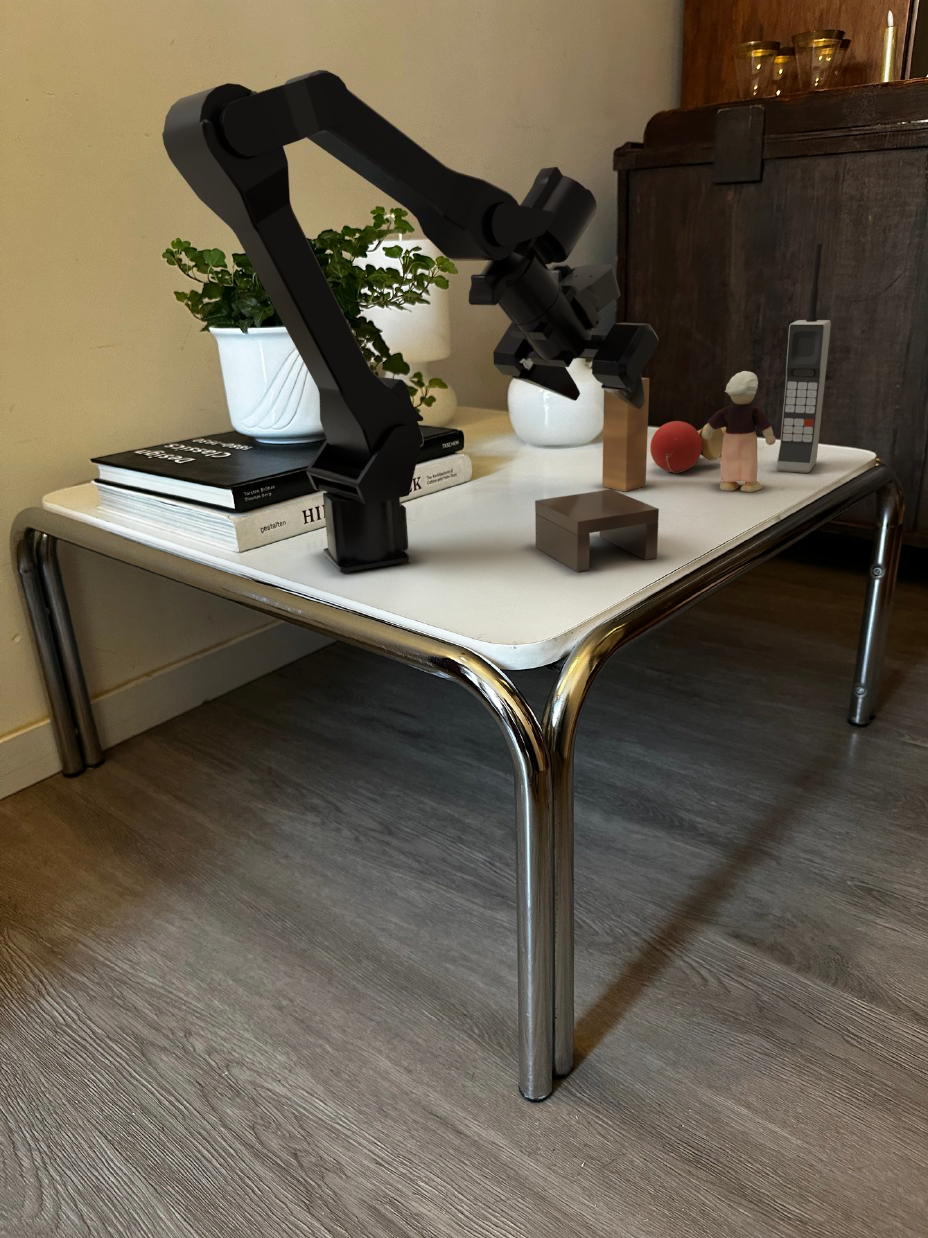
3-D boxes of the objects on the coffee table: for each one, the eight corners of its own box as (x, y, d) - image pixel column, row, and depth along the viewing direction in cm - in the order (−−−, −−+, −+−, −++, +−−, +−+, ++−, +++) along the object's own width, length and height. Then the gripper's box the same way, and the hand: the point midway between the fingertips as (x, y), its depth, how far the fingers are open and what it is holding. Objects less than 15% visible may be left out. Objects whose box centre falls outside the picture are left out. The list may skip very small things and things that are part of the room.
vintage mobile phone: (776, 471, 110) (796, 243, 100) (784, 462, 114) (804, 242, 104) (809, 473, 108) (833, 242, 98) (816, 464, 112) (839, 241, 103)
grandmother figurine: (770, 484, 104) (780, 368, 99) (771, 493, 100) (781, 373, 96) (700, 482, 106) (706, 368, 101) (698, 491, 103) (705, 373, 98)
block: (625, 491, 104) (628, 381, 99) (602, 486, 106) (603, 379, 102) (645, 485, 106) (649, 378, 101) (622, 481, 108) (624, 375, 104)
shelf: (577, 572, 79) (577, 521, 77) (535, 547, 86) (534, 500, 84) (657, 558, 82) (659, 508, 80) (610, 534, 89) (611, 488, 87)
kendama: (690, 455, 125) (628, 463, 111) (703, 408, 123) (642, 410, 109) (743, 471, 121) (686, 482, 107) (758, 423, 119) (702, 428, 105)
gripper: (649, 232, 84) (715, 345, 95) (509, 238, 98) (581, 337, 108) (590, 330, 83) (663, 434, 93) (456, 323, 96) (534, 415, 107)
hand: (608, 401), depth 100 cm, fingers open, 9 cm apart
